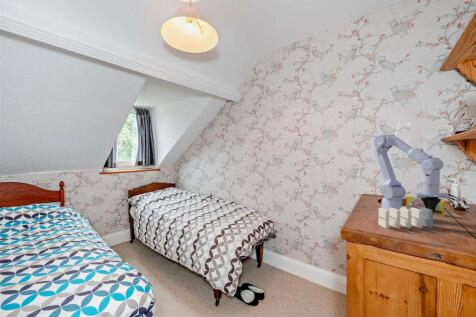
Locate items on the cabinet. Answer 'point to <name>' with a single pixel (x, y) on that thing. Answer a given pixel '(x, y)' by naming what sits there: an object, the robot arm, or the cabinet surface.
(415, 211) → the ivory domino
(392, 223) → the ivory domino
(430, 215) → the slate domino
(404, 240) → the cabinet surface
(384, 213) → the ivory domino
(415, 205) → the candy box
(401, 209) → the ivory domino
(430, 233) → the cabinet surface
